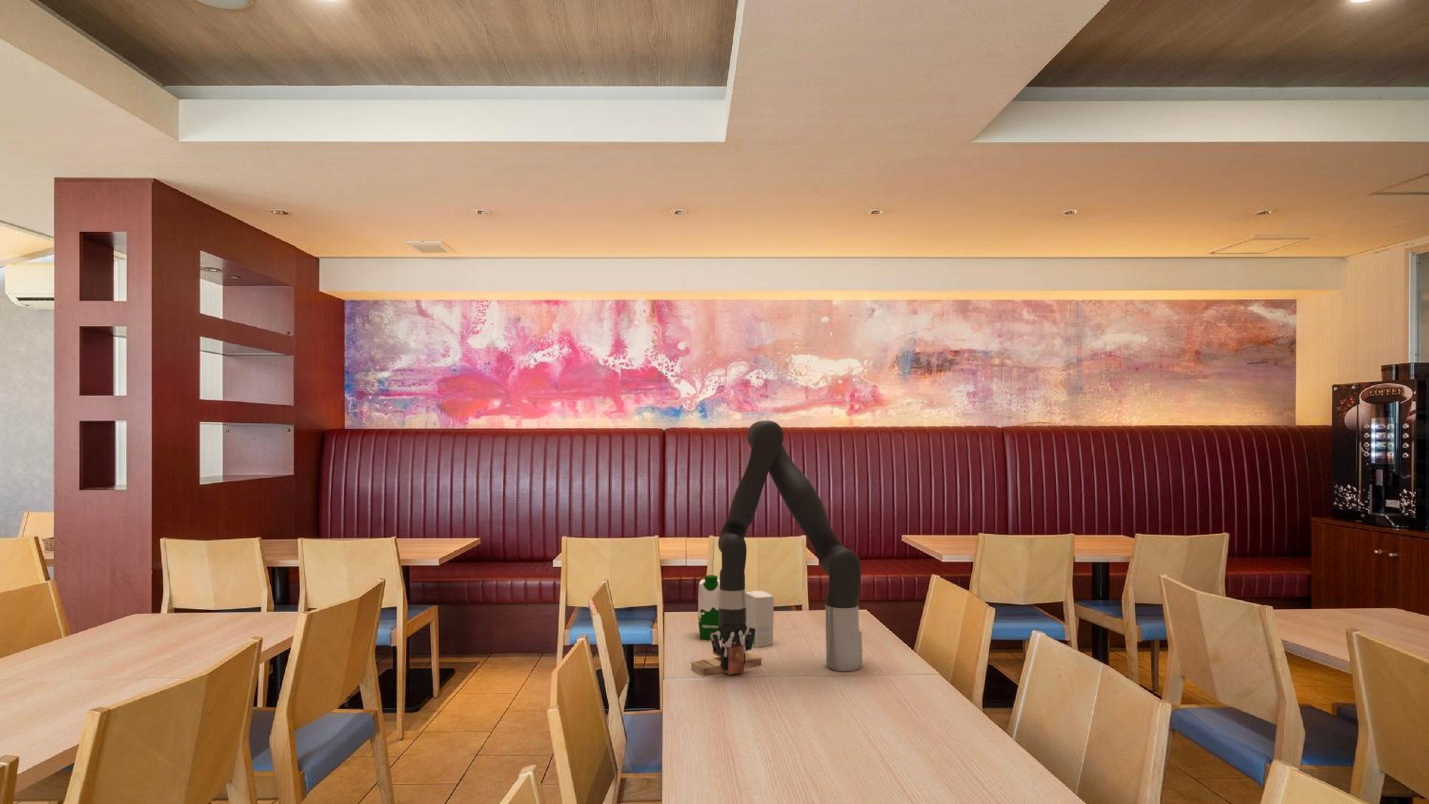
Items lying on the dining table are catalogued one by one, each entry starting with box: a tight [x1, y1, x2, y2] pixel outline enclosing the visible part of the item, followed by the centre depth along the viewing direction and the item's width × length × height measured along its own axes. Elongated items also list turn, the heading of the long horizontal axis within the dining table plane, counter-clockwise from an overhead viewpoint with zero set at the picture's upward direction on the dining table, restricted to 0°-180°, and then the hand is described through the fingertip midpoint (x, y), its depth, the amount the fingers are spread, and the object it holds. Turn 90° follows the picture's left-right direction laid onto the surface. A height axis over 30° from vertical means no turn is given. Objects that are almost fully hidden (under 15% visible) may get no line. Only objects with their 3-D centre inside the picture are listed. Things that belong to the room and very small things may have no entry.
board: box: [690, 651, 763, 677], centre depth 208 cm, size 19×7×2 cm, turn 120°
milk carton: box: [697, 574, 722, 641], centre depth 240 cm, size 9×9×20 cm
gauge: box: [712, 642, 745, 675], centre depth 206 cm, size 4×13×7 cm, turn 30°
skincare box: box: [743, 590, 775, 649], centre depth 232 cm, size 8×7×16 cm
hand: (733, 667), depth 202 cm, fingers closed on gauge, 4 cm apart
